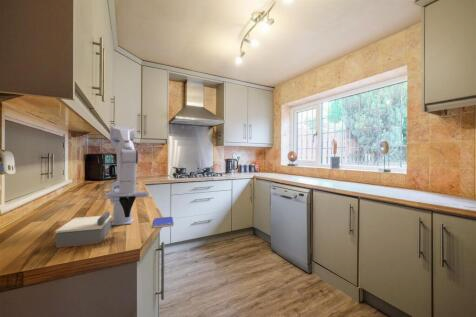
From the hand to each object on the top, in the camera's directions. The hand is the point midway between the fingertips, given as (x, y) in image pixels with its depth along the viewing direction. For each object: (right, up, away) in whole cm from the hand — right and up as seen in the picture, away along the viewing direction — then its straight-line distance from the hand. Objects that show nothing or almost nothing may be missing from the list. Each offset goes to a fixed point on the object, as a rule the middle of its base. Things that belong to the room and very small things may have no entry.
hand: (127, 216), depth 81 cm
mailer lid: (-12, -1, -5) cm, 13 cm away
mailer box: (-12, -6, -5) cm, 14 cm away
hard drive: (+9, -7, +14) cm, 18 cm away
